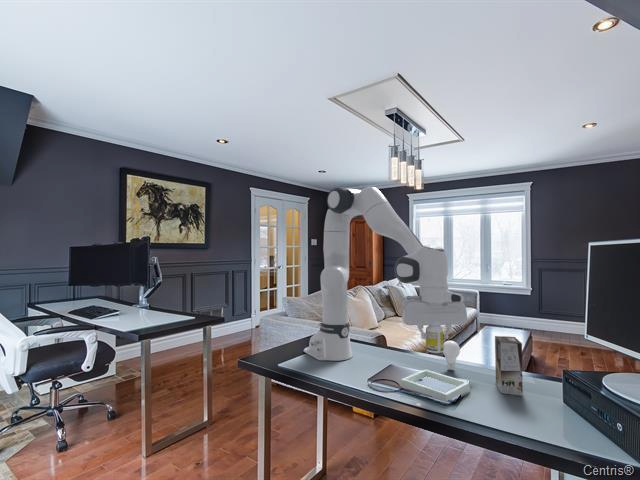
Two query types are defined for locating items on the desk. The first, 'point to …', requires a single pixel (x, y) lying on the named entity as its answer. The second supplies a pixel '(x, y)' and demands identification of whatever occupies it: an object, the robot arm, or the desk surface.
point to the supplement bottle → (434, 338)
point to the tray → (409, 382)
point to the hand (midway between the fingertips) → (434, 338)
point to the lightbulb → (451, 353)
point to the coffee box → (508, 365)
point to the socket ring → (380, 389)
